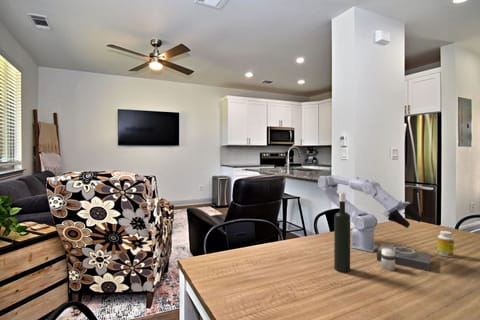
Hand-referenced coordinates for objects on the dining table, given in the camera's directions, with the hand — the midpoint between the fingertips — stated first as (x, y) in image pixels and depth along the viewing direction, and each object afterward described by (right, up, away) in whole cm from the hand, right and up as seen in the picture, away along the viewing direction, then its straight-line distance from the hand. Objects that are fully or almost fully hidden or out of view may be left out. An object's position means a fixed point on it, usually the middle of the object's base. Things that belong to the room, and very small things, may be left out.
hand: (414, 223), depth 105 cm
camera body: (-2, -17, +5) cm, 17 cm away
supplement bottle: (+20, -17, +10) cm, 28 cm away
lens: (-12, -17, -3) cm, 21 cm away
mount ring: (-2, -14, +4) cm, 15 cm away
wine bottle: (-31, -17, -3) cm, 35 cm away
